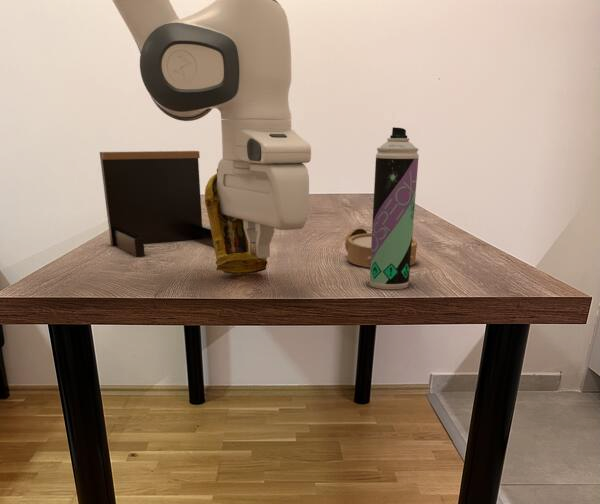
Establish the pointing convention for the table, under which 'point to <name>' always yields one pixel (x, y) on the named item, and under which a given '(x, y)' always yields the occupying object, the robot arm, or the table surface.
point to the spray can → (393, 211)
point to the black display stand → (153, 198)
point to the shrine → (229, 238)
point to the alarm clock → (366, 248)
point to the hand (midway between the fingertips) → (259, 256)
